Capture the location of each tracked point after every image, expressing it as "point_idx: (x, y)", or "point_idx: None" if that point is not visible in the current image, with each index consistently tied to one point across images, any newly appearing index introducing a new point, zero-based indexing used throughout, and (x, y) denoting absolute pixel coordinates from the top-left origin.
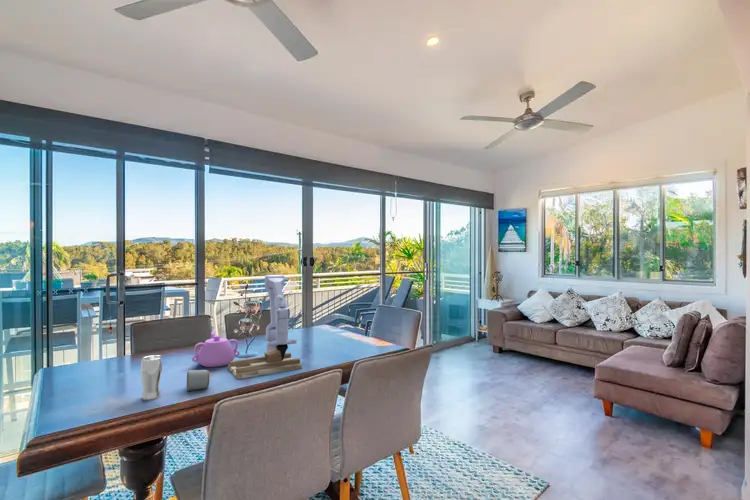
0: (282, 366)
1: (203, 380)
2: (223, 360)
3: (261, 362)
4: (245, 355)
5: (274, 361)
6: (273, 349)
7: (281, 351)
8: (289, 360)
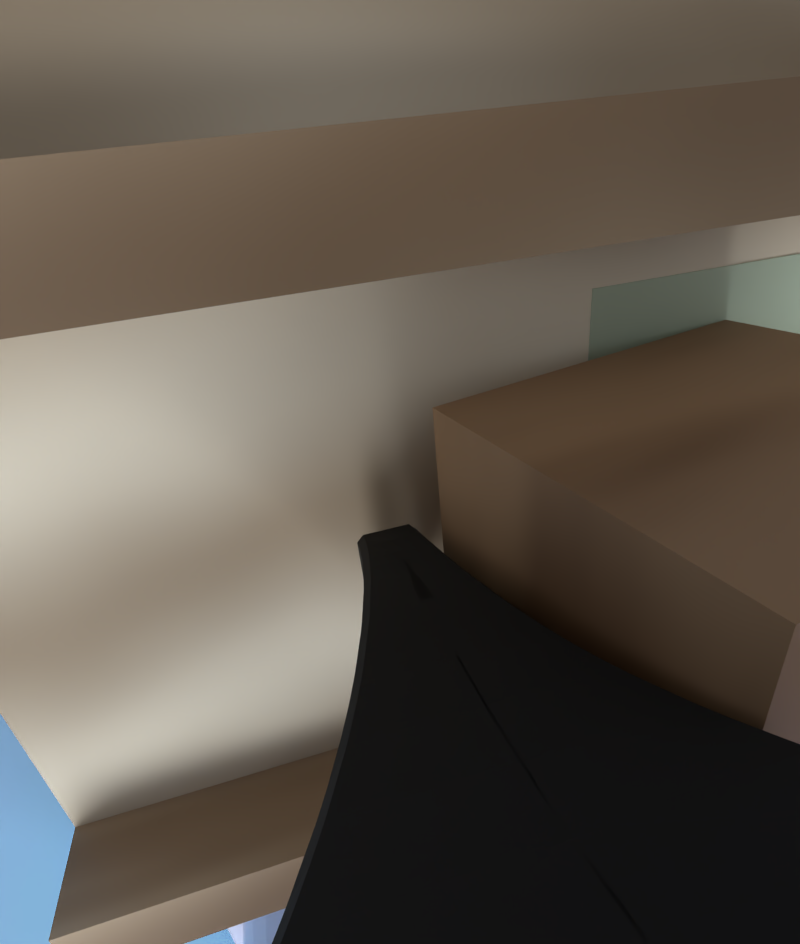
0: (483, 43)
1: None
2: None
3: None
4: None
5: (691, 363)
6: None
7: (607, 711)
8: (187, 165)
